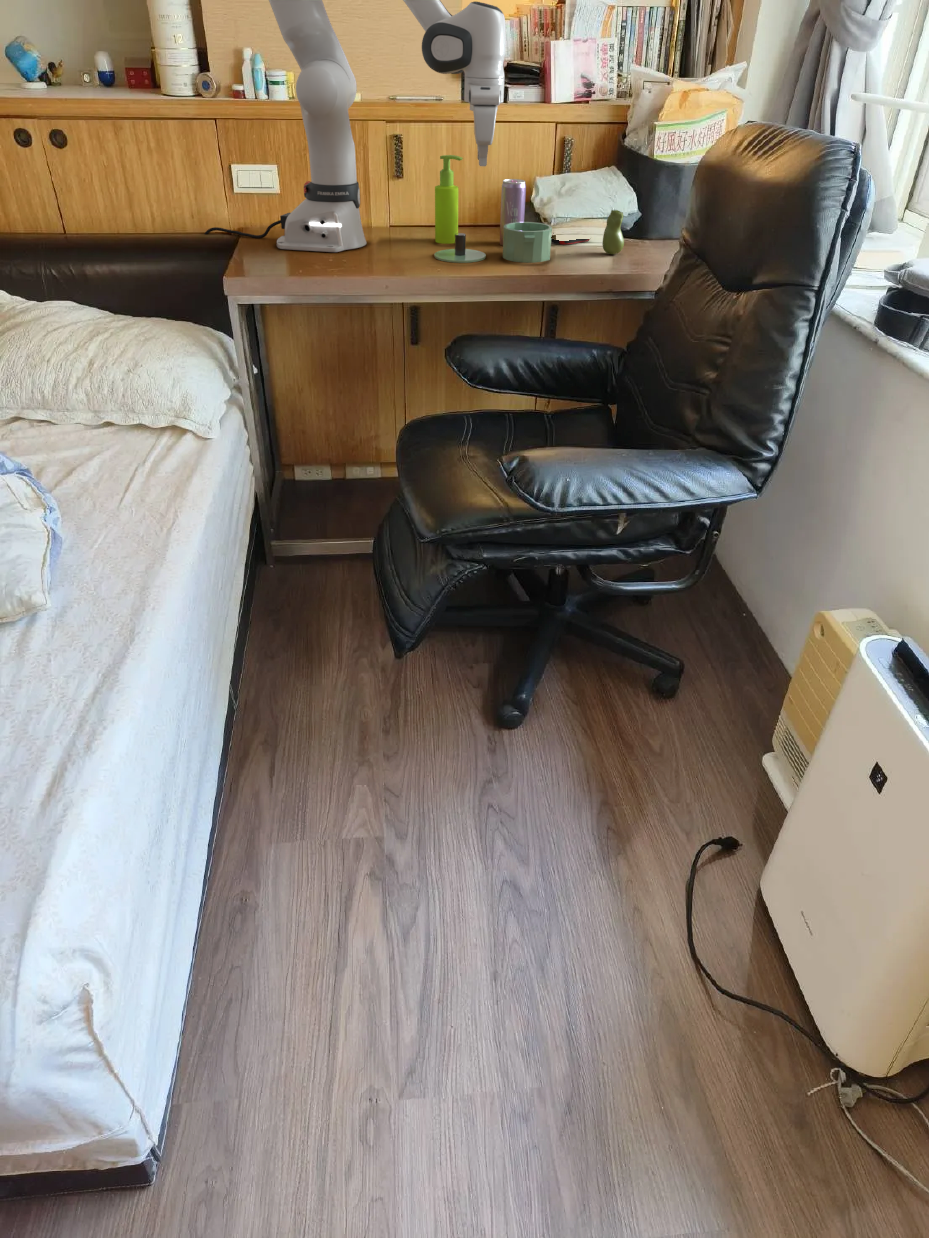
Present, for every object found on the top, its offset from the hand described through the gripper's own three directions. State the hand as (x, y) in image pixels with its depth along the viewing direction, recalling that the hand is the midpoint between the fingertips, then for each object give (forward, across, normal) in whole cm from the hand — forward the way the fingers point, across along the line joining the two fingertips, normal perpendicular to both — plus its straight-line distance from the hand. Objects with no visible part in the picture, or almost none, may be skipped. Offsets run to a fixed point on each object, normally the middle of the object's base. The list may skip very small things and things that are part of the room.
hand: (481, 163), depth 192 cm
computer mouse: (+20, -16, +24) cm, 35 cm away
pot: (+20, +5, +11) cm, 23 cm away
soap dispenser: (+20, -11, -8) cm, 24 cm away
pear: (+20, -2, +33) cm, 39 cm away
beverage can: (+20, -9, +8) cm, 23 cm away
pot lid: (+19, +6, -5) cm, 21 cm away
